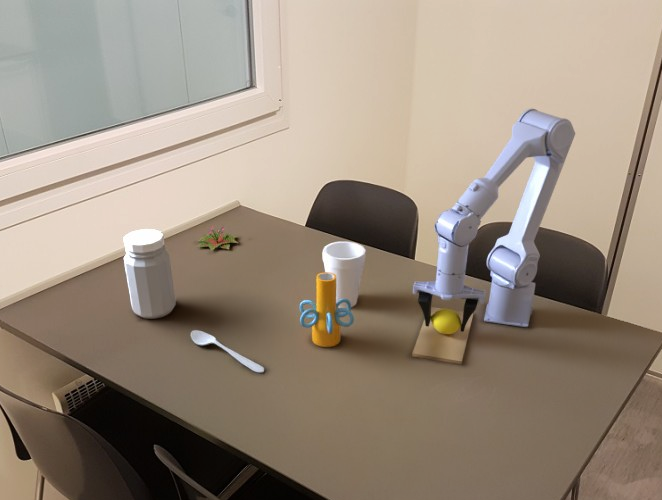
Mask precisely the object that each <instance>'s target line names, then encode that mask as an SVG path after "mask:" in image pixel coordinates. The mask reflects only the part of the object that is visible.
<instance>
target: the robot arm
mask: <svg viewBox="0 0 662 500" xmlns="http://www.w3.org/2000/svg"><path fill="white" fill-rule="evenodd" d="M575 137H576V131H575V128H574V126H573V124H572V122H571V121H570V119H568V118H565V117H563V118H562V117H558V116H555V115H553V114H550V113H546V112H543V111H540V110H537V109H536V108H528V109H526V110H524V111H523V112H522V113H521V115H520V116H519V117H518V119H517V121H516V122H515V123H514V124H513V125H512V128H511V138H510V139H509V140H508V142H507V143H506V144H505V146H504V148H503V149H502V151H500V154H499V155H498V157H497V158H496V160H495V161H494V162H493V164H492V166H490V168H489V169H488V171H487V172H486V174H485V176H483V177H479V178H476V179H474V180H473V181H472V182H471V183H470V184H469V186H468V187H467V188H466V190H465V191H464V192H463V194H462V195H461V196H460V197H459V198H458V200H457V201H456V202H455V203H454V204H453V206H452V208H449V209H446V210H444V211H442V212H441V213H440V214H439V215H438V217H437V219H436V222H435V223H434V224H433V228H434V232H435V233H436V235H437V242H438V254H437V263H436V275H435V281H414V283H413V285H412V294H413V295H418V297H417V303H418V305H419V306H420V309H421V310H422V314H423V318H424V319H425V326H428V327H429V324H430V316H431V307H432V303H433V296H436V297H440V298H441V300H445V301H452V300H453V299H459V300H465V301H464V306H463V321H462V325H461V332H464V329H465V326H466V323H467V321H468V319H469V318H470V316H471V315H472V313H473V314H474V312H475V311H476V310H477V307H478V304H485V303H484V302H485V297H486V290H482V289H477V288H473V287H471V286H468V285H465V278H466V271H467V262H468V253H469V245H470V243H471V242H472V241H473V240H474V239H475V238H476V237H477V234H478V231H479V228H480V225H481V222H482V221H481V220H482V219H483V218H484V216H485V215H486V213H488V211H489V210H490V208H491V207H492V206H493V205H494V204H495V203H496V201H497V200H498V198H499V188H500V187H501V186H502V184H504V182H505V181H506V180H507V179H508V178H509V177H510V176H511V175H513V173H514V172H515V171H516V170H517V169H518V168H519V166H520V165H521V164H522V163H523V162H524V161H525V160H526V159H527V158H533V159H534V164H533V167H532V170H531V172H530V175H529V178H528V180H527V183H526V186H525V189H524V190H523V194H522V196H521V200H520V201H519V204H518V208H517V210H516V213H515V215H514V218H513V220H512V224H511V226H510V230H509V231H508V233H507V234H506V235H504V236H501V237H498V238H497V240H496V242H495V245H494V246H493V248H492V249H491V251H490V252H489V253H488V255H487V258H486V267H487V269H488V270H489V271H490V277H491V285H490V291H489V297H488V298H489V299H488V303H487V304H486V306H485V307H486V308H485V313H484V317H483V321H484V322H487V323H493V324H501V325H507V326H514V327H520V328H529V325H530V319H531V316H532V315H533V310H534V307H533V302H534V296H535V290H536V282H533V281H534V279H535V277H536V275H537V272H538V263H539V260H540V257H541V255H540V252H539V250H538V248H537V245H536V243H535V239H536V236H537V234H538V233H539V229H540V227H541V224H542V221H543V219H544V217H545V213H546V212H547V209H548V206H549V203H550V201H551V198H552V196H553V193H554V191H555V188H556V185H557V182H558V180H559V178H560V176H561V173H562V170H563V167H564V165H565V163H566V160H567V157H568V154H569V152H570V149H571V146H572V144H573V141H574V139H575Z"/></svg>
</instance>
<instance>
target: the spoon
mask: <svg viewBox="0 0 662 500" xmlns="http://www.w3.org/2000/svg"><path fill="white" fill-rule="evenodd" d="M190 338H191V340H192V341H193V343H194V344H196V345H199V346H207V345H210V344H213V345H216V346H218V347H219V348H221V349H222V350H224V351H225V352H227V354H229V355H230V356H231V357H232V358H234V359H235V360H236V361H237V362H238V363H241V364H242V365H243V366H245V367H246V368H248V369H249V370H251V371H252V372H254V373H257V374H258V373H259V374H262V373H264V372H265V368H264V367H263V366H262V365H261V364H258V363H256V362H254V361H253V360H250V359H249V358H247V357H245V356H243V355H241V354H240V353H238V352H236V351H234V350H232V349H230V348H229V347H227V346H226V345H223V344H221V343H220V342H219V341H218V340H217V339H216V337H215V336H214V335H212V334H209V333H207V332H205V331H202V330H198V329H196V330H192V331H191V332H190Z"/></svg>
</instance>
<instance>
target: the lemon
mask: <svg viewBox="0 0 662 500" xmlns="http://www.w3.org/2000/svg"><path fill="white" fill-rule="evenodd" d="M453 310H454V309H450V308H442V309H440V310H438V311H437V312H435V313H434V314H433V315H432V316H430V319H431V322H432V324H433V326H434V328H435V329H436V330H437V331H438V332H440V333H442V334H453V333H455V332H456V331H458V330H459V329H460V328H461V325H462V323H461V319H460V316H459V315H458V314H457V312H455V311H453Z"/></svg>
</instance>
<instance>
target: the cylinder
mask: <svg viewBox="0 0 662 500" xmlns="http://www.w3.org/2000/svg"><path fill="white" fill-rule="evenodd" d="M315 277H316V278H315V279H316V282H315V283H316V286H315V287H316V289H315V291H316V302H314V301H313V300H310V299H304V300H302V301H301V302H300V304H299V311H300V313H301V315H300V318H299V322H300V325H301V327H303V328H305V329H309V328H311V340H312V342H313V344H314V345H316V346H318V347H321V348H331V347H335V346H337V345H338V344H339V343H340V342H341V336H342V335H341V330H342V327H344V328H347V327H350V326H352V325H353V324H354V321H355V317H354V314H353V312H352V311H351V309H352V307H351V303H350V301H349V300H348V299H341V300H339V301H338V302H337V303H336V275H335V274H334V273H330V272H325V271H322V272H320V273H318V274H316V276H315ZM343 302H346V303H347V308H338V306H339V305H340V304H341V303H343ZM305 305H310V306H312V308H307V309H306V310H305V309H304V306H305ZM310 313H313V314H310ZM347 315H348V316H349V321H348V322H344V321H342V320H341V319H340V318H344V317H346V316H347ZM305 318H307V319H313V320H312V321H311V322H309V323H306V322H305Z"/></svg>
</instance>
